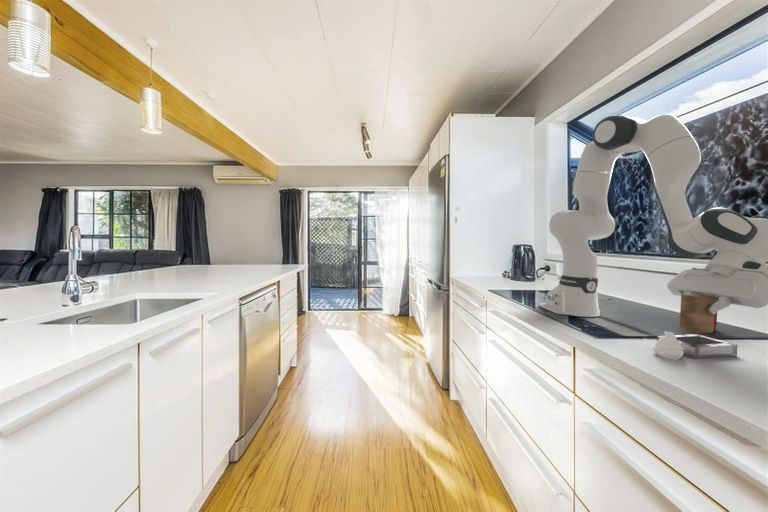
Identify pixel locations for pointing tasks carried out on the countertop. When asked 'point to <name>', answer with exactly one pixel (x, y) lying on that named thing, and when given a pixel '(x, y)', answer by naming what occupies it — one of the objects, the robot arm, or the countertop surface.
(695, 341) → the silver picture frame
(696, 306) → the brown rectangular block
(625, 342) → the countertop surface
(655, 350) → the garlic bulb
